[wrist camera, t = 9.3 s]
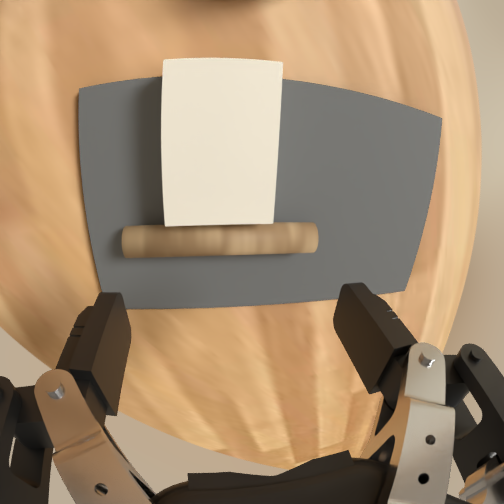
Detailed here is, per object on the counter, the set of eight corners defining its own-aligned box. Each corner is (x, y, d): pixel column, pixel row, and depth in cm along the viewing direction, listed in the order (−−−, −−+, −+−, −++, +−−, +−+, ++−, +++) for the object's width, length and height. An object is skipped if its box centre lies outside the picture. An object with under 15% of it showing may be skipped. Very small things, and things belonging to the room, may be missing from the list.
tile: (170, 211, 17) (169, 68, 13) (264, 209, 18) (272, 69, 14) (164, 226, 15) (163, 59, 11) (273, 223, 16) (282, 62, 12)
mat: (82, 89, 13) (79, 88, 12) (437, 117, 17) (442, 118, 17) (108, 304, 20) (106, 308, 20) (401, 287, 24) (404, 290, 24)
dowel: (127, 221, 17) (120, 233, 15) (309, 218, 19) (320, 229, 17) (131, 249, 18) (124, 263, 16) (305, 244, 20) (315, 258, 18)
